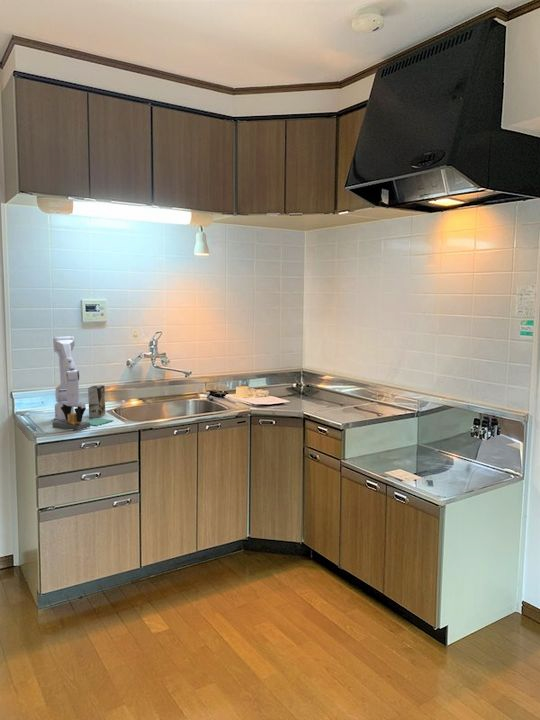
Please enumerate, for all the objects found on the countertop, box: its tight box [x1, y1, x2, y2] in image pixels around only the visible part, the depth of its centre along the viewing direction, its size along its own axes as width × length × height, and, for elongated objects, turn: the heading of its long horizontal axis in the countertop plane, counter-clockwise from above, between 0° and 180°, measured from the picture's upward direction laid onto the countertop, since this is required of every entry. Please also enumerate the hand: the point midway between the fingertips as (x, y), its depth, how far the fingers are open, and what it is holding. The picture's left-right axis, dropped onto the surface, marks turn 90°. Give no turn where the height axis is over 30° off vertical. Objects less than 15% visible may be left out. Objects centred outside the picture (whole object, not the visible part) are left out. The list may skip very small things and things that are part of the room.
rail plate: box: [52, 419, 91, 431], centre depth 273 cm, size 17×8×3 cm, turn 63°
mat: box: [82, 417, 114, 427], centre depth 283 cm, size 12×12×1 cm
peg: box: [68, 412, 80, 424], centre depth 272 cm, size 4×4×7 cm
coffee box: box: [87, 385, 106, 418], centre depth 298 cm, size 9×6×16 cm
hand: (73, 420), depth 272 cm, fingers open, 7 cm apart
